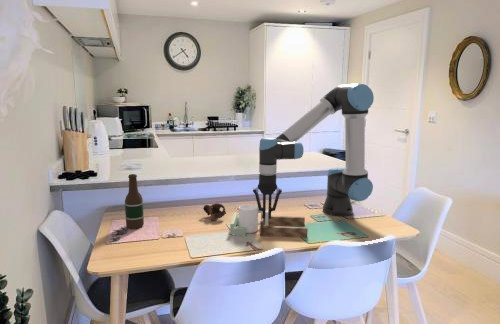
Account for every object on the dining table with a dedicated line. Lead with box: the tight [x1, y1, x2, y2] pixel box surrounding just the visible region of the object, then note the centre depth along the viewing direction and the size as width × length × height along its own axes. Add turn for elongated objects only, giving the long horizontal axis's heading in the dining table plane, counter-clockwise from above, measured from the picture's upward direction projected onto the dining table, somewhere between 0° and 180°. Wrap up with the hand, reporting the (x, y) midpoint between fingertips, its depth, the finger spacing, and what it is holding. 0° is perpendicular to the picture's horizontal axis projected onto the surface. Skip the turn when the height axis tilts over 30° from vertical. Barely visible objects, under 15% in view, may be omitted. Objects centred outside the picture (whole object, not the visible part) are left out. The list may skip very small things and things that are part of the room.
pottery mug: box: [202, 202, 227, 222], centre depth 174 cm, size 12×10×8 cm
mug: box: [238, 203, 263, 234], centre depth 159 cm, size 9×12×11 cm
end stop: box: [229, 212, 247, 236], centre depth 160 cm, size 6×15×5 cm, turn 176°
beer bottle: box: [124, 173, 145, 230], centre depth 160 cm, size 8×8×24 cm
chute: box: [259, 213, 309, 238], centre depth 159 cm, size 20×15×6 cm
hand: (266, 225), depth 159 cm, fingers closed
